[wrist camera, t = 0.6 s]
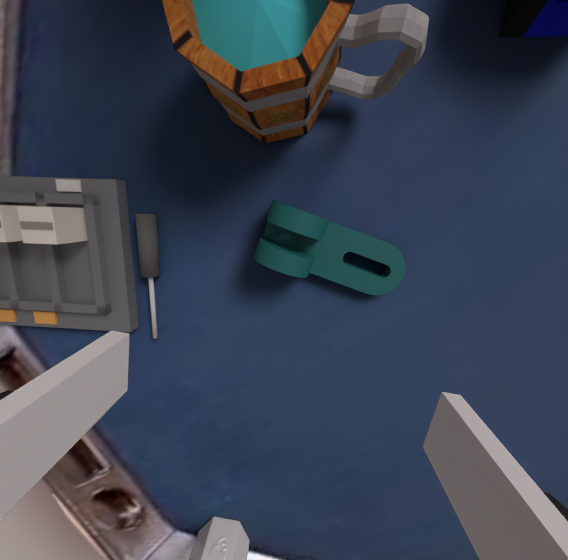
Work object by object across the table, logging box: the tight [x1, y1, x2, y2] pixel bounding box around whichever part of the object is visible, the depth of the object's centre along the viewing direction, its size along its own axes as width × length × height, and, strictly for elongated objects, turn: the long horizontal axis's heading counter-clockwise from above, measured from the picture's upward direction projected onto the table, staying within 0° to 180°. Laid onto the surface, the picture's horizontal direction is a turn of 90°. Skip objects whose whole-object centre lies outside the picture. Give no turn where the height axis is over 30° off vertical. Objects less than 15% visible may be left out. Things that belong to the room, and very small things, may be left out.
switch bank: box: [0, 176, 139, 332], centre depth 38 cm, size 20×22×3 cm
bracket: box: [254, 200, 406, 295], centre depth 33 cm, size 18×7×8 cm, turn 70°
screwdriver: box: [135, 214, 160, 339], centre depth 38 cm, size 17×2×2 cm, turn 178°
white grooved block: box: [0, 205, 23, 242], centre depth 34 cm, size 4×4×5 cm
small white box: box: [17, 206, 88, 245], centre depth 34 cm, size 4×4×5 cm
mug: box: [162, 0, 429, 143], centre depth 26 cm, size 20×14×15 cm
